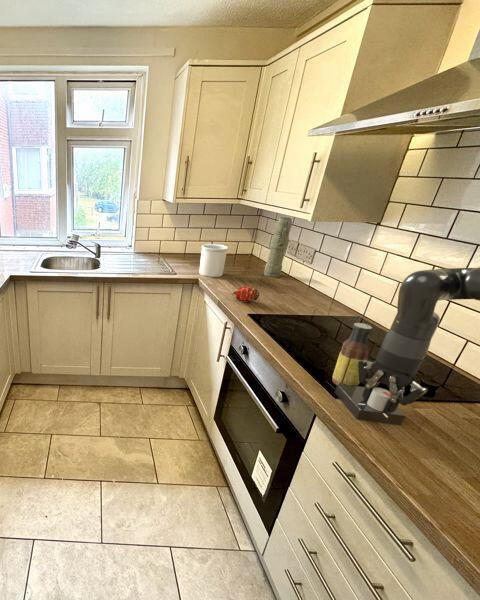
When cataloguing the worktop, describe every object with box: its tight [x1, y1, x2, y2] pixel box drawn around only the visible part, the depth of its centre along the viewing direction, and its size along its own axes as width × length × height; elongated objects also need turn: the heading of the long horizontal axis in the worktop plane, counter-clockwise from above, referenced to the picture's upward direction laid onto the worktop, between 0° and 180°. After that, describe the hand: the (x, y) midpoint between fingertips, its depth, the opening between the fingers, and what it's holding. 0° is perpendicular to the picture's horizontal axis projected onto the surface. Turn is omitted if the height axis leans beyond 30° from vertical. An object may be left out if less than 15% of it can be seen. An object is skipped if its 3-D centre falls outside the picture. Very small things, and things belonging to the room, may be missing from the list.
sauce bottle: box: [332, 322, 373, 387], centre depth 92 cm, size 7×6×20 cm
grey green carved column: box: [263, 216, 293, 279], centre depth 189 cm, size 9×12×35 cm
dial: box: [367, 386, 390, 412], centre depth 82 cm, size 4×4×5 cm
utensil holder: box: [198, 243, 229, 278], centre depth 195 cm, size 15×15×18 cm
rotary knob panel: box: [334, 384, 406, 426], centre depth 85 cm, size 10×13×3 cm
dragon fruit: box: [232, 285, 260, 304], centre depth 155 cm, size 8×8×12 cm
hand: (377, 405), depth 82 cm, fingers closed on dial, 4 cm apart
